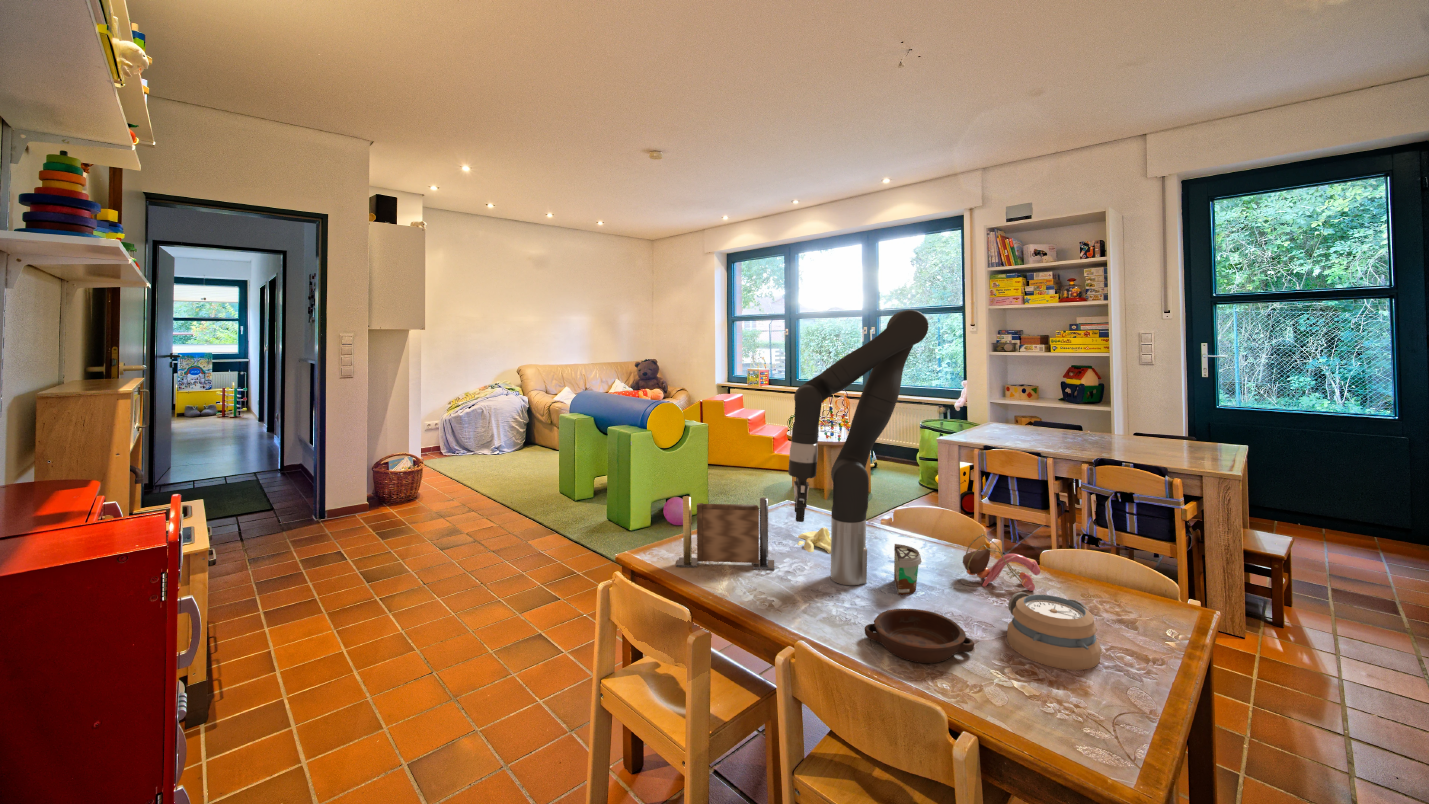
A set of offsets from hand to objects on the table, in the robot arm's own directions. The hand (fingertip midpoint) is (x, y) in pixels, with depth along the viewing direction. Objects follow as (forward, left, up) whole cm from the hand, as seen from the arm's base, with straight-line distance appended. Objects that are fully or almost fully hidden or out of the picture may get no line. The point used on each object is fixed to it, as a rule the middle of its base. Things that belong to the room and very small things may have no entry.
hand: (799, 516), depth 157 cm
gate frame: (+21, -8, -17) cm, 28 cm away
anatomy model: (-54, 0, -18) cm, 56 cm away
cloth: (-8, -27, -18) cm, 34 cm away
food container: (-28, +5, -18) cm, 34 cm away
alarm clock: (-52, +30, -18) cm, 63 cm away
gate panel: (+20, -8, -16) cm, 27 cm away
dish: (-23, +35, -18) cm, 46 cm away
